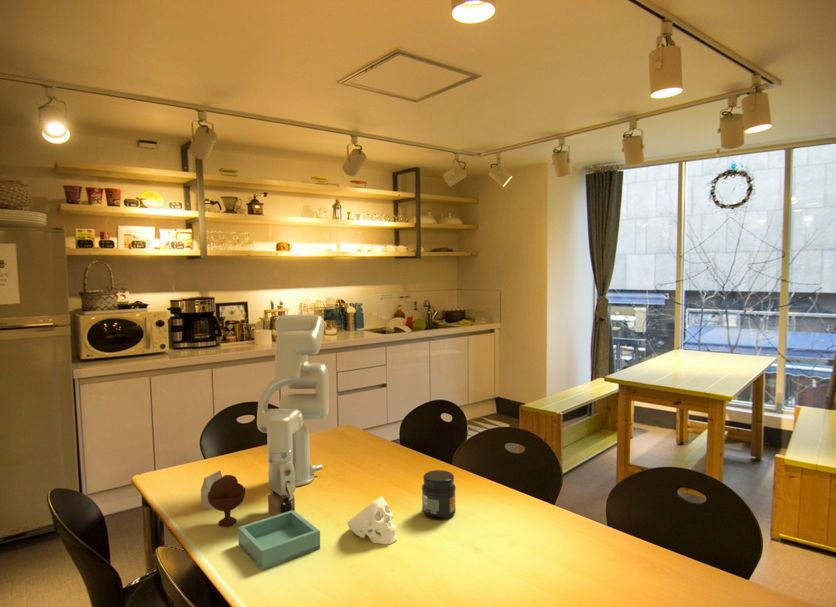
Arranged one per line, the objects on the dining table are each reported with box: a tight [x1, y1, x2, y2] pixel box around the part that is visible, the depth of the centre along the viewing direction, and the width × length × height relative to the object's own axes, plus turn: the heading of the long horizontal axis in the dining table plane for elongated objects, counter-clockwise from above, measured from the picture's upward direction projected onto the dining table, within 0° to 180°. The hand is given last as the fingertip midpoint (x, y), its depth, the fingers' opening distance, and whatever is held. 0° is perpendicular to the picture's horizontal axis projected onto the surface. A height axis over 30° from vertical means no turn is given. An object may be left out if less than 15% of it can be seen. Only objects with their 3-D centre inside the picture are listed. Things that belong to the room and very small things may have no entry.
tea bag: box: [200, 470, 223, 510], centre depth 171 cm, size 4×7×10 cm, turn 158°
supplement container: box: [421, 469, 457, 521], centre depth 164 cm, size 10×10×12 cm
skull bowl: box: [346, 496, 398, 545], centre depth 150 cm, size 10×14×12 cm
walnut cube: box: [267, 491, 296, 517], centre depth 164 cm, size 6×6×6 cm
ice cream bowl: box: [208, 474, 247, 528], centre depth 158 cm, size 11×11×15 cm
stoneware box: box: [237, 510, 321, 571], centre depth 144 cm, size 16×16×5 cm
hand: (281, 511), depth 164 cm, fingers closed on walnut cube, 6 cm apart
